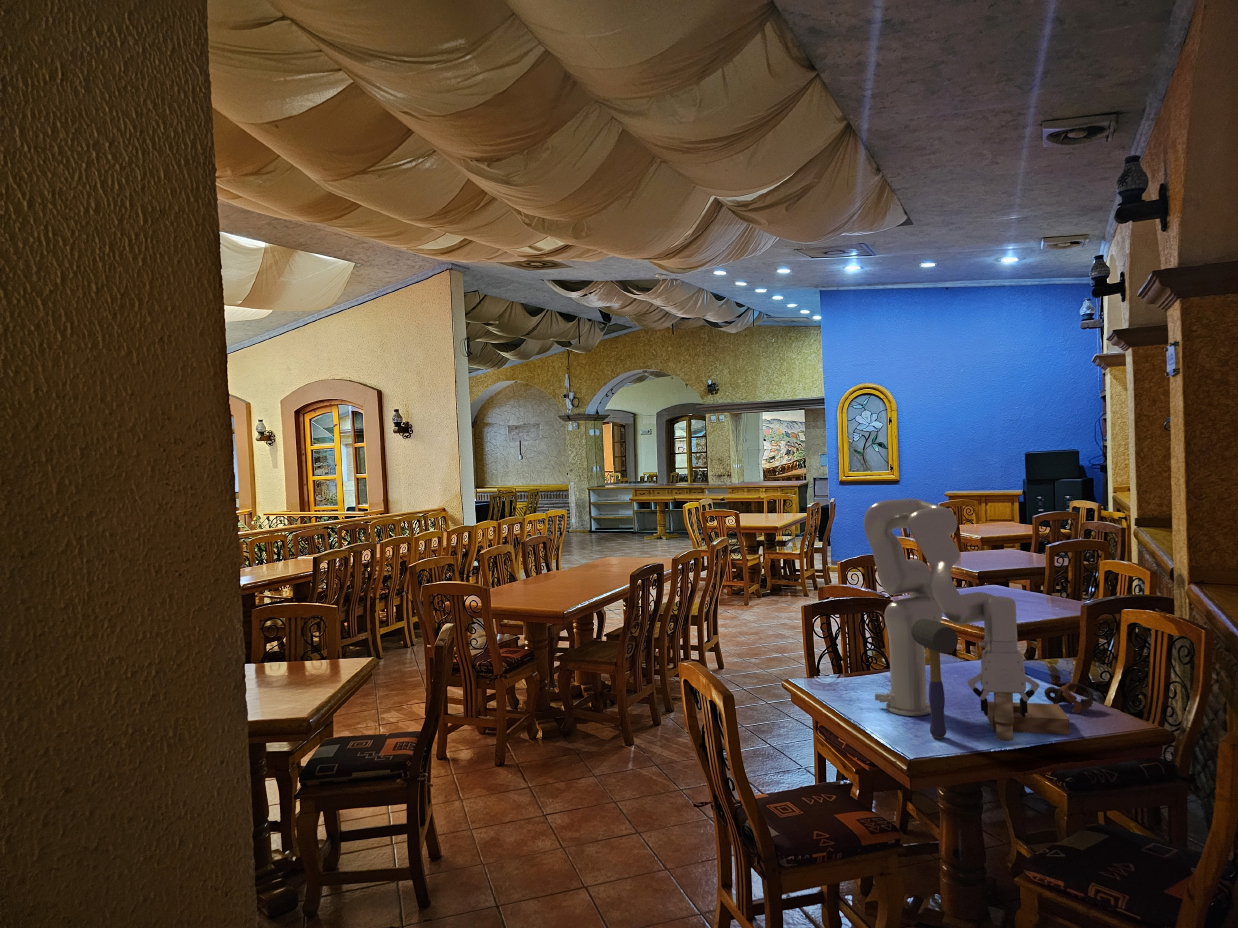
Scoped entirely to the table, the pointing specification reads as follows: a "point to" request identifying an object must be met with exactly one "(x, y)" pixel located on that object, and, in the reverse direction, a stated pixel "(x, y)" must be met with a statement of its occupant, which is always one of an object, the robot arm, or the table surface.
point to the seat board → (1036, 718)
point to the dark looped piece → (1070, 696)
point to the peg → (1004, 715)
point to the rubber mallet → (935, 666)
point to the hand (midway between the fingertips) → (1004, 714)
